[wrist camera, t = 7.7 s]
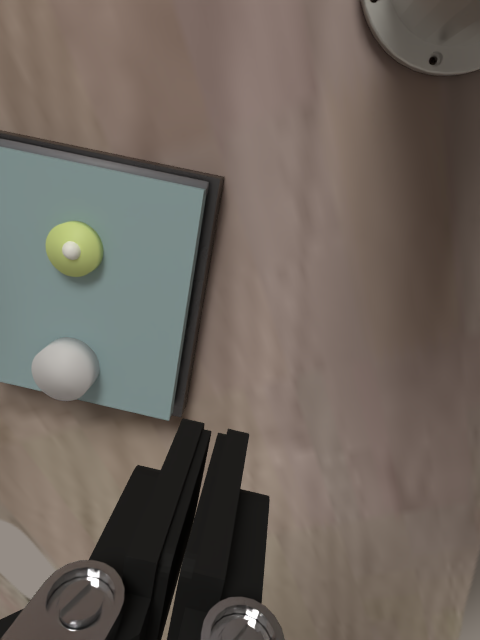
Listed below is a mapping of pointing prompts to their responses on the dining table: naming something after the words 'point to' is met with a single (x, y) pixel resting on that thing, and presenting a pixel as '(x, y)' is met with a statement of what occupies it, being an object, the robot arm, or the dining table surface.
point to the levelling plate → (95, 277)
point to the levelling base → (202, 254)
